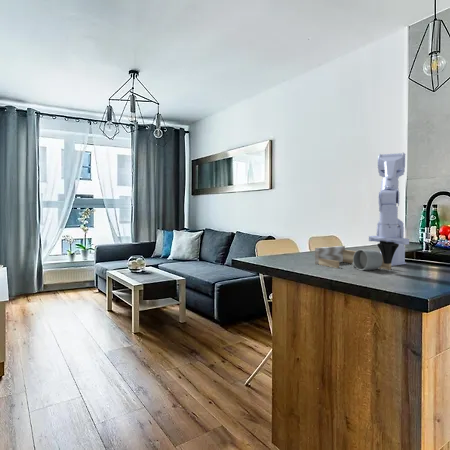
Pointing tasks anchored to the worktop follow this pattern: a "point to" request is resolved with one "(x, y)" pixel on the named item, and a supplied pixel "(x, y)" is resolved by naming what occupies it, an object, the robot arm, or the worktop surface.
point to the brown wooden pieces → (337, 256)
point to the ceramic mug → (367, 259)
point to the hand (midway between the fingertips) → (387, 263)
